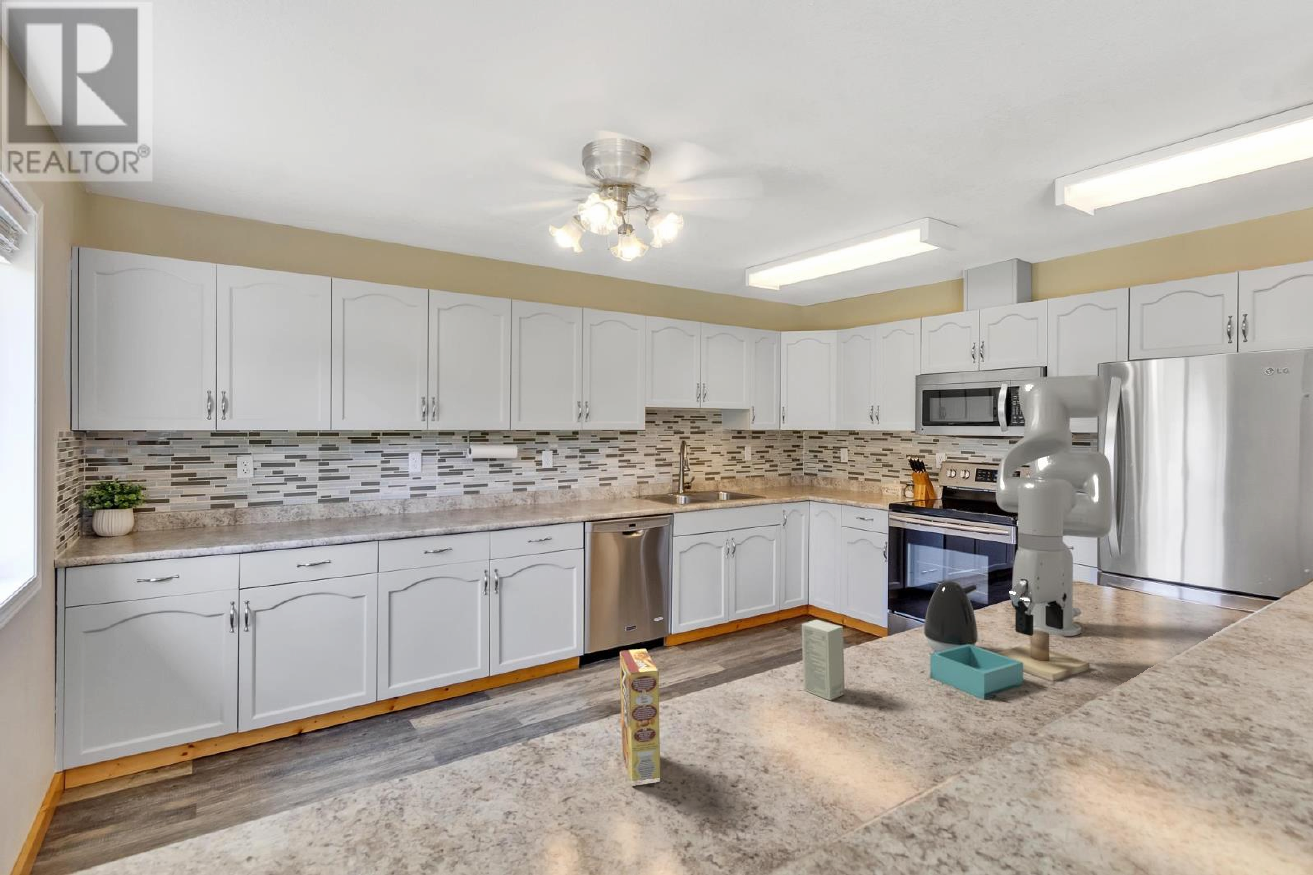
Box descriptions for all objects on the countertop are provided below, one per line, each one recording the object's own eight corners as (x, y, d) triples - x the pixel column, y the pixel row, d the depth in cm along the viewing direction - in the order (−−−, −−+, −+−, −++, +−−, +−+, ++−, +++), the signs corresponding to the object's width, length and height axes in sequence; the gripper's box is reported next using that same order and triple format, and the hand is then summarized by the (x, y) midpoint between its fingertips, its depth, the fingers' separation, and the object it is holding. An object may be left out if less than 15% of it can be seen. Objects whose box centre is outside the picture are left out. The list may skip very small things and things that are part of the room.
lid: (1028, 649, 132) (1028, 620, 132) (1089, 669, 121) (1089, 637, 121) (991, 659, 126) (991, 629, 126) (1052, 680, 116) (1052, 647, 116)
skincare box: (845, 695, 111) (845, 626, 111) (829, 701, 108) (829, 632, 108) (816, 683, 116) (816, 618, 116) (801, 689, 113) (800, 623, 113)
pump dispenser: (988, 662, 126) (988, 587, 126) (936, 662, 126) (936, 587, 126) (964, 645, 136) (964, 575, 136) (916, 644, 136) (916, 575, 136)
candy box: (661, 784, 84) (661, 670, 84) (630, 788, 83) (629, 673, 83) (647, 751, 92) (647, 647, 92) (619, 754, 91) (618, 650, 91)
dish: (968, 666, 124) (968, 644, 124) (1023, 687, 114) (1023, 662, 114) (930, 677, 119) (930, 653, 119) (984, 699, 109) (984, 673, 109)
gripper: (1047, 538, 131) (1046, 620, 130) (994, 543, 123) (993, 631, 122) (1085, 543, 124) (1085, 630, 124) (1032, 549, 116) (1031, 642, 116)
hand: (1039, 630), depth 123 cm, fingers open, 9 cm apart
